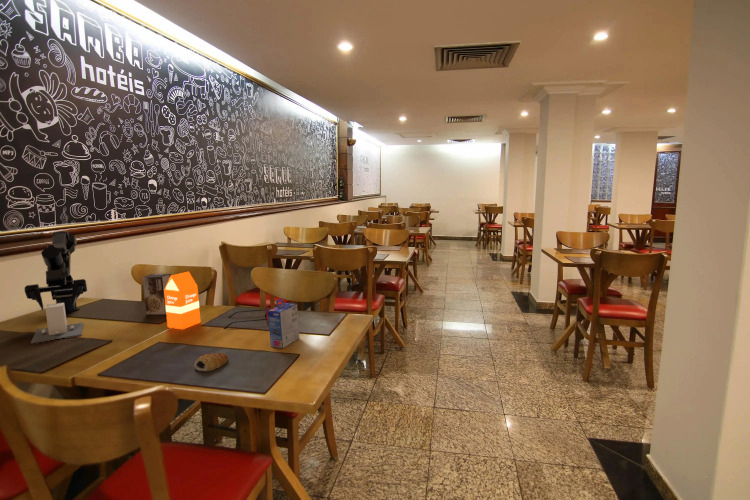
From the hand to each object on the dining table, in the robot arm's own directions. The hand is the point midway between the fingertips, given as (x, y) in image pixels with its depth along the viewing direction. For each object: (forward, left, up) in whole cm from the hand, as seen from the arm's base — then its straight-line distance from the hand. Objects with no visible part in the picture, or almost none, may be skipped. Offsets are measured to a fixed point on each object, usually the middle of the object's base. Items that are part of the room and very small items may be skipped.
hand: (57, 307), depth 155 cm
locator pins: (+7, +7, -7) cm, 13 cm away
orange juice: (-10, +46, -8) cm, 48 cm away
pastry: (+22, +78, -8) cm, 81 cm away
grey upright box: (-23, +25, -8) cm, 35 cm away
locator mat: (+6, +6, -8) cm, 11 cm away
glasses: (-18, +68, -9) cm, 71 cm away
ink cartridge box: (+1, +92, -8) cm, 92 cm away
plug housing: (+6, +6, -7) cm, 11 cm away
